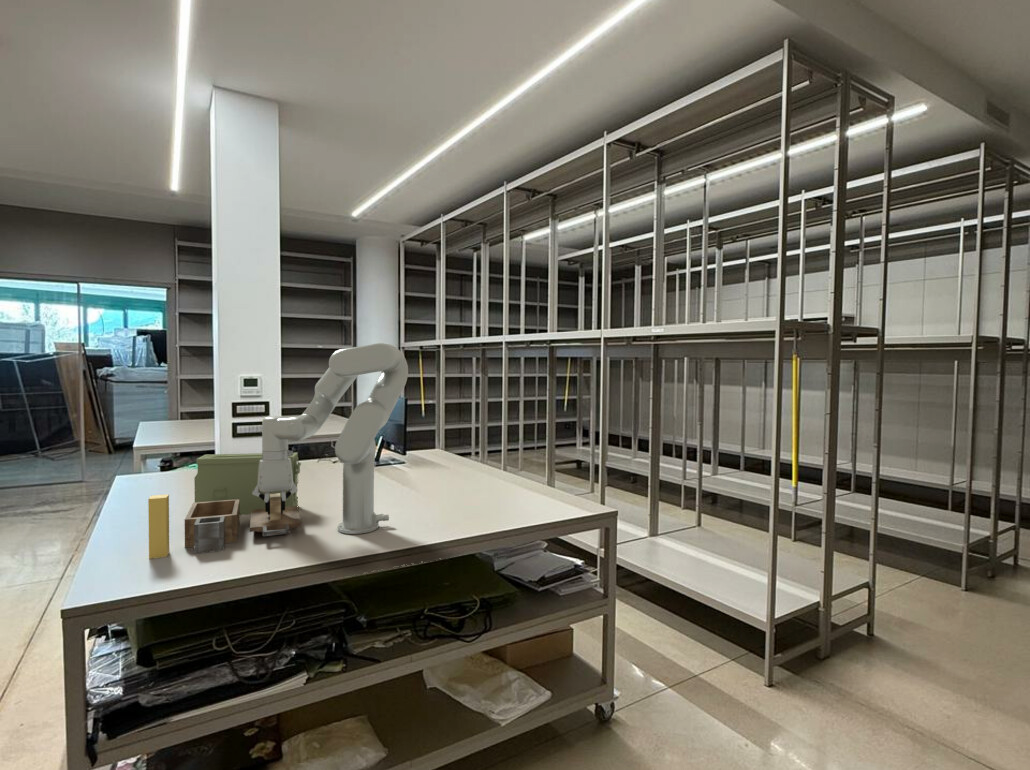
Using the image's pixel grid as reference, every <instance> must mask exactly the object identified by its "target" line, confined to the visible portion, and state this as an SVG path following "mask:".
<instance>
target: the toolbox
mask: <svg viewBox="0 0 1030 770" xmlns="http://www.w3.org/2000/svg"><path fill="white" fill-rule="evenodd" d="M240 517H241V515H240V499H234V500H222V501H210V502H197V503H195V502H193V503H192V505H191V506H190V508H189V510H188V512H187V514H186V516H185V518H184V549H185V548H186V547H187V548H192V547H193V546H194V547H193V549H194V550H193V552H194V553H197V554H203V553H202V552H205V553H211V552H210V551H214V552H219V550H223V551H224V550H225V544H229V542H232V543H237V542H238V537H239V529H240V522H241V521H240V520H241V519H240ZM237 536H238V537H237ZM194 553H193V554H194Z"/></svg>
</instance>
